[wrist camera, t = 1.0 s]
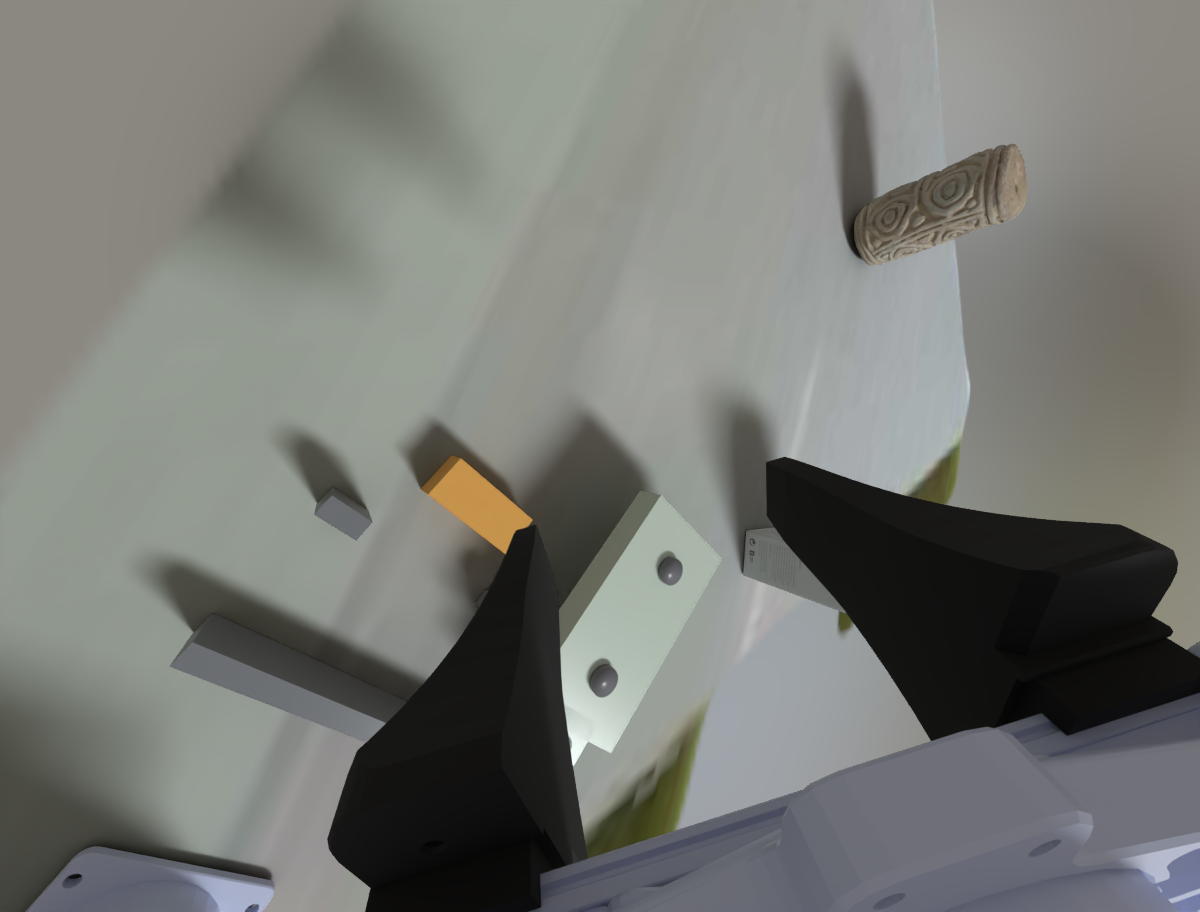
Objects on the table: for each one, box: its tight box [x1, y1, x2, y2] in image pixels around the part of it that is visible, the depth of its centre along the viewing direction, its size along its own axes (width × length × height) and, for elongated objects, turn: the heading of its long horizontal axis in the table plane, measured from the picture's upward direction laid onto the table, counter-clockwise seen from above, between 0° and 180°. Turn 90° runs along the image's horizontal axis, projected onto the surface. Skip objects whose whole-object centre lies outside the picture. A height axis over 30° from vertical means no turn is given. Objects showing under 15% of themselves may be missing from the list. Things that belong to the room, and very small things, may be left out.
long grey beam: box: [170, 487, 488, 742], centre depth 21 cm, size 8×15×3 cm, turn 48°
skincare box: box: [743, 527, 847, 614], centre depth 34 cm, size 6×4×12 cm
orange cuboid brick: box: [421, 456, 533, 554], centre depth 23 cm, size 2×5×2 cm, turn 47°
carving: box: [854, 144, 1027, 266], centre depth 39 cm, size 6×8×12 cm
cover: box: [559, 491, 722, 766], centre depth 26 cm, size 7×15×6 cm, turn 138°
